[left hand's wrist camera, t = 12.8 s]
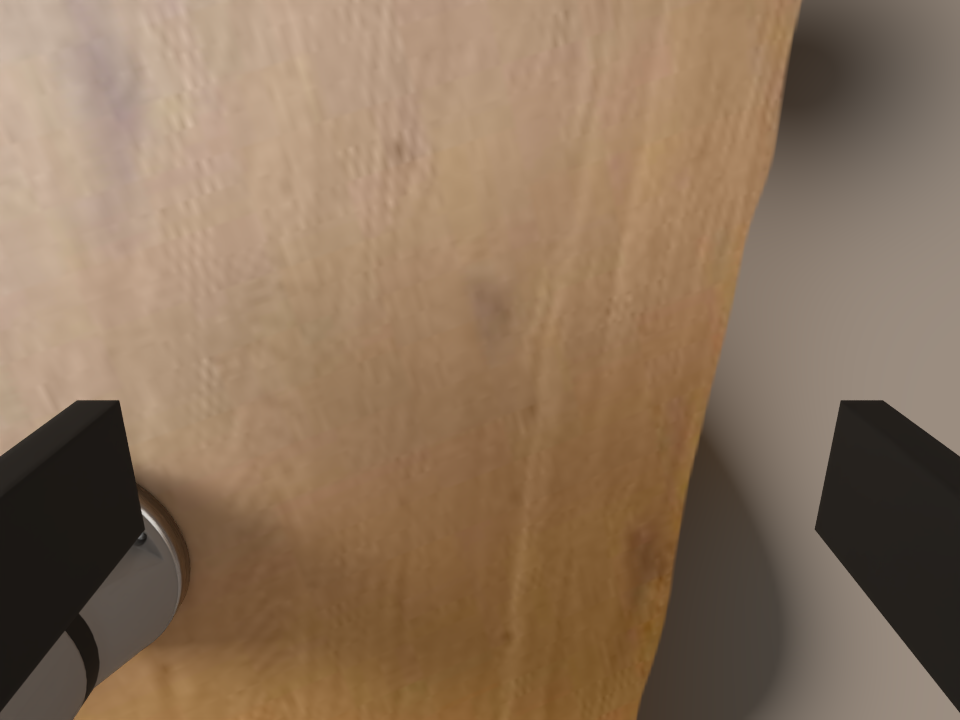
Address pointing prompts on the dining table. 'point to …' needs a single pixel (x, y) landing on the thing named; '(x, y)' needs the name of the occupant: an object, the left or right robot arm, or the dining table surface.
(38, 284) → the dining table surface
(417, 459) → the dining table surface
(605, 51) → the dining table surface
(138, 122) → the dining table surface
